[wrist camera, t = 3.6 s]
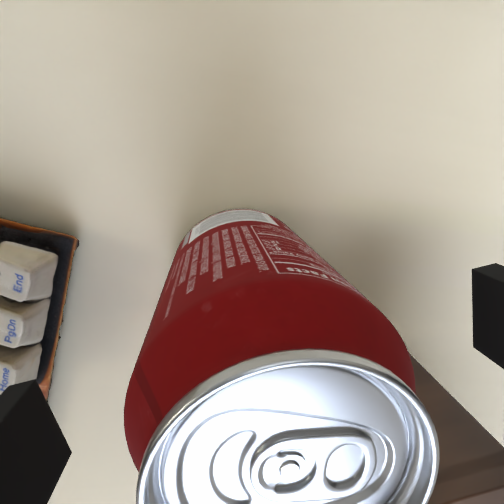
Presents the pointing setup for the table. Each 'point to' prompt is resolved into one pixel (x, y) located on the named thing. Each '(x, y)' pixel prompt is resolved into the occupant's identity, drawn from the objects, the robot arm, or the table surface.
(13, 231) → the mechanical keyboard
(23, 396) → the robot arm
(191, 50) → the table surface
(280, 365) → the soda can
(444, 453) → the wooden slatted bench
